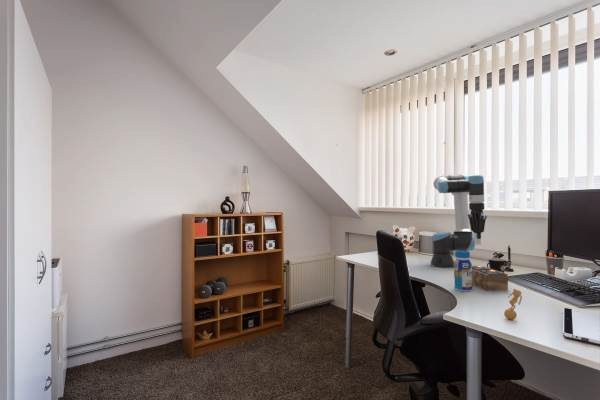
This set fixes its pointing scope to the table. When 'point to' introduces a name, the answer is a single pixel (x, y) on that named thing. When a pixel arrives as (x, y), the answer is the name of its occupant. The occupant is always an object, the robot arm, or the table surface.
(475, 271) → the walnut block
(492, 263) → the coffee mug
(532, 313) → the table surface
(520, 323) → the table surface
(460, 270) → the beverage bottle
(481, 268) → the back peg
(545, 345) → the table surface
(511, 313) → the figurine
